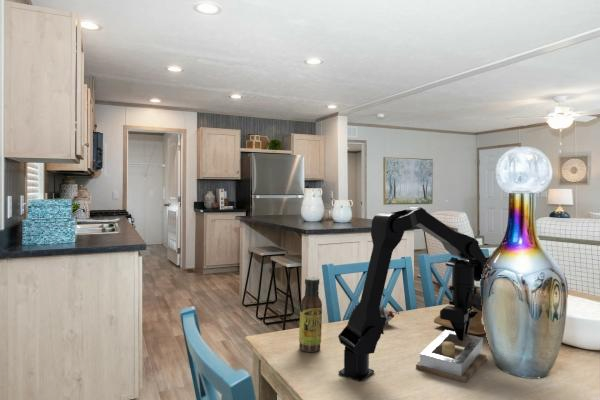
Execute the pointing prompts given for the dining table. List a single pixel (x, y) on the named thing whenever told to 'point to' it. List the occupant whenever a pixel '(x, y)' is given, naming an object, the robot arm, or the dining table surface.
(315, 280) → the sauce bottle
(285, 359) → the dining table surface
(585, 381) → the dining table surface
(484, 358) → the plate
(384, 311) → the sundae
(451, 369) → the steel link
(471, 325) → the tan boot
